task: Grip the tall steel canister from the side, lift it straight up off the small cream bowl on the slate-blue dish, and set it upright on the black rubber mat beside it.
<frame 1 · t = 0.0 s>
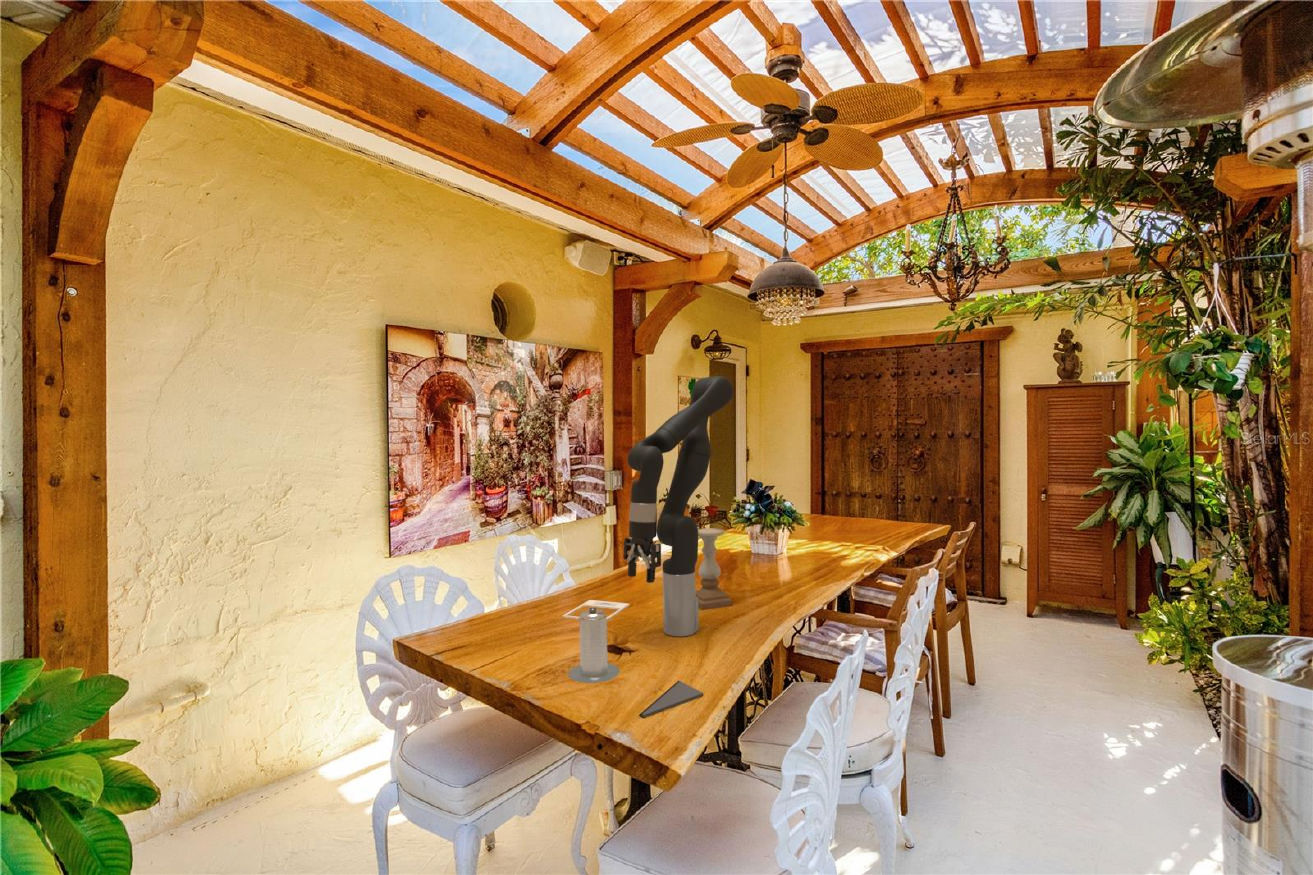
hand: (640, 579, 165), 17 cm above the table, tool pointing down, fingers open, 8 cm apart
candle holder: (710, 603, 200), on the table
rubber mat: (651, 693, 134), on the table
white rectangular frame: (597, 613, 194), on the table
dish: (594, 676, 143), on the table
steel canister: (594, 672, 143), point 1 cm above the table, touching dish
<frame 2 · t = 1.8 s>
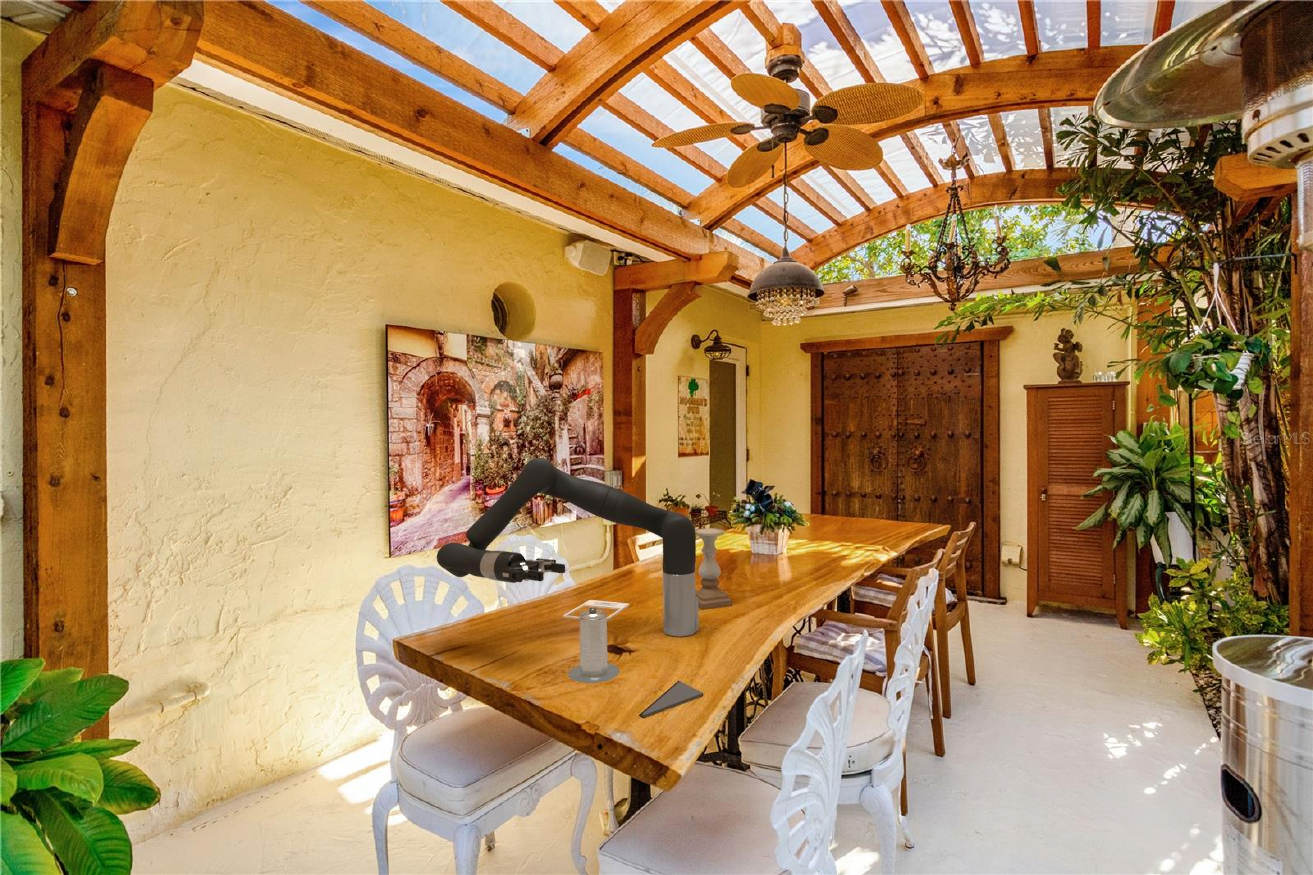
hand: (553, 572, 148), 23 cm above the table, tool horizontal, fingers open, 8 cm apart
nothing on the table moved.
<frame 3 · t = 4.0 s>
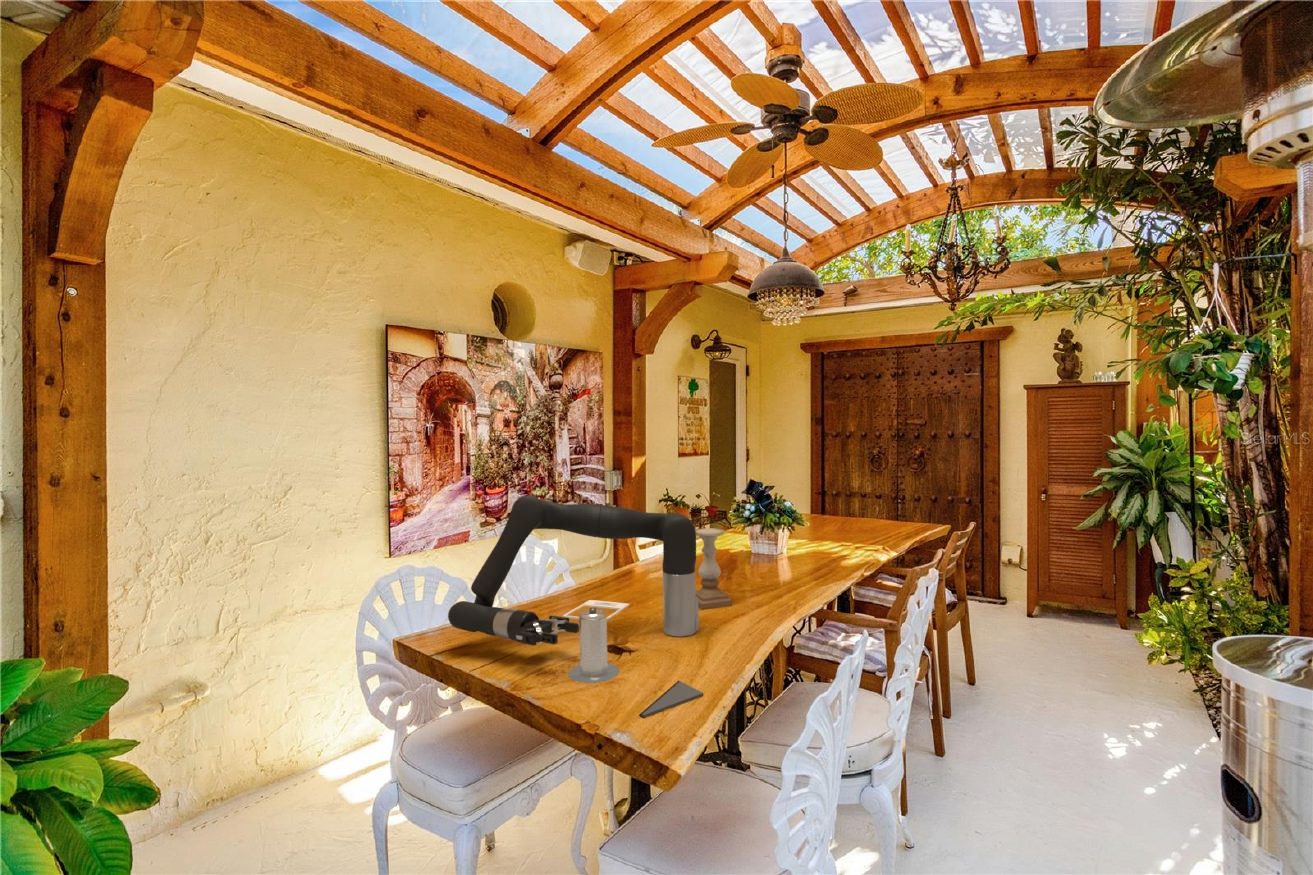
hand: (567, 633, 147), 9 cm above the table, tool horizontal, fingers open, 8 cm apart
nothing on the table moved.
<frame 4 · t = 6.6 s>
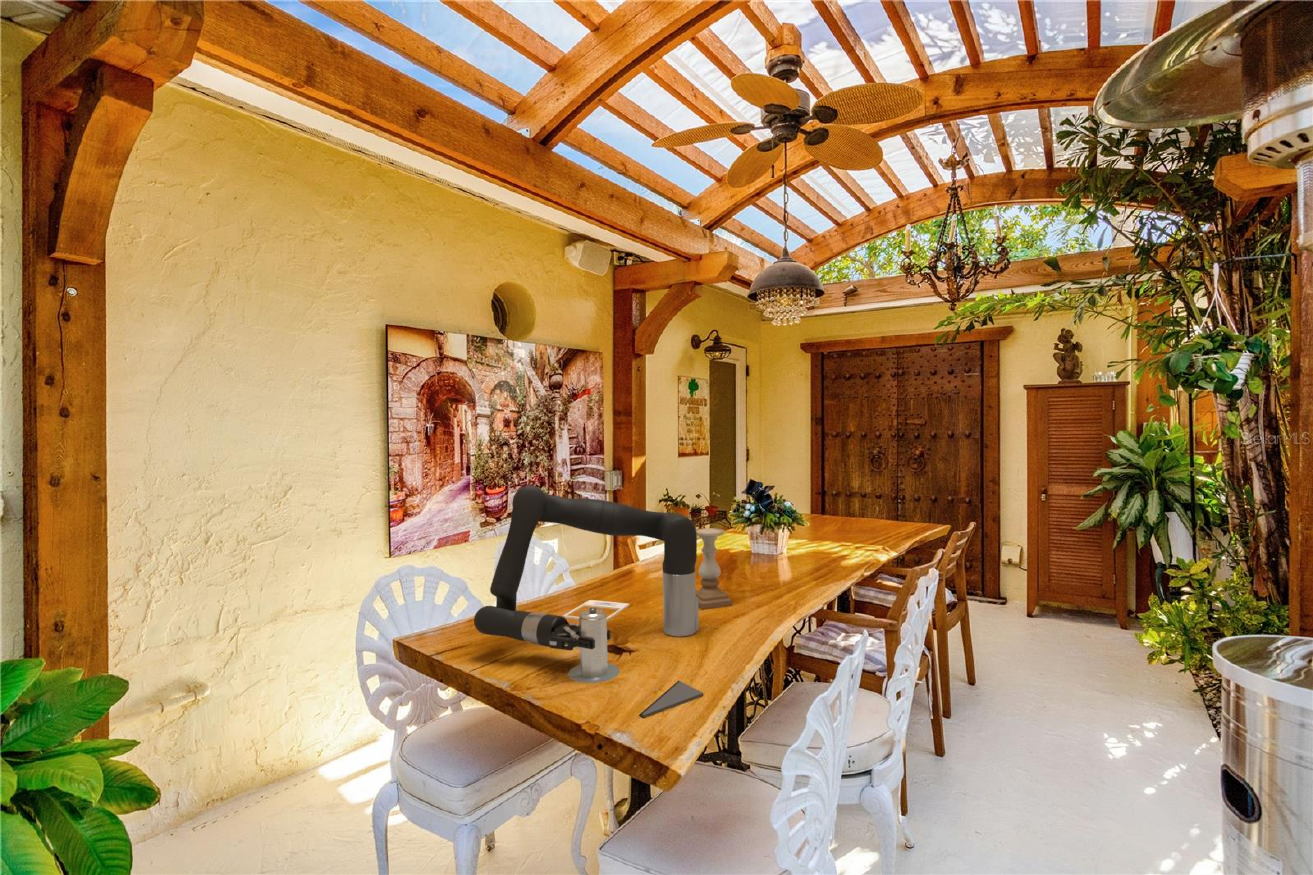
hand: (601, 639, 142), 9 cm above the table, tool horizontal, fingers closed on steel canister, 6 cm apart
steel canister: (594, 672, 143), point 1 cm above the table, touching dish, gripper
everything else where it was.
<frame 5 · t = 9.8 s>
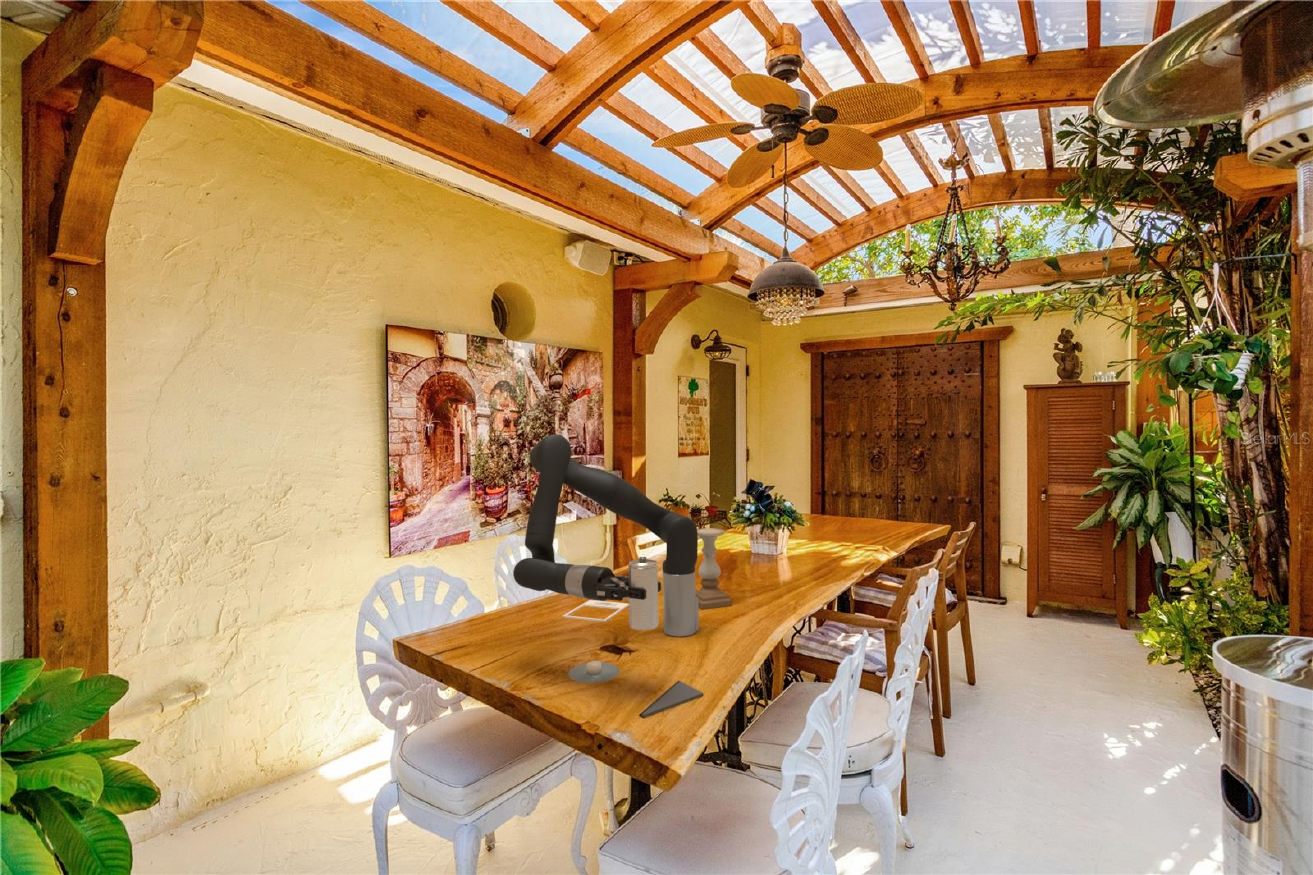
hand: (652, 590, 133), 23 cm above the table, tool horizontal, fingers closed on steel canister, 6 cm apart
steel canister: (643, 625, 134), point 15 cm above the table, touching gripper
everything else where it was.
when the fingers open (10 cm above the table, at t = 13.4 s): steel canister drops 1 cm, resting on rubber mat.
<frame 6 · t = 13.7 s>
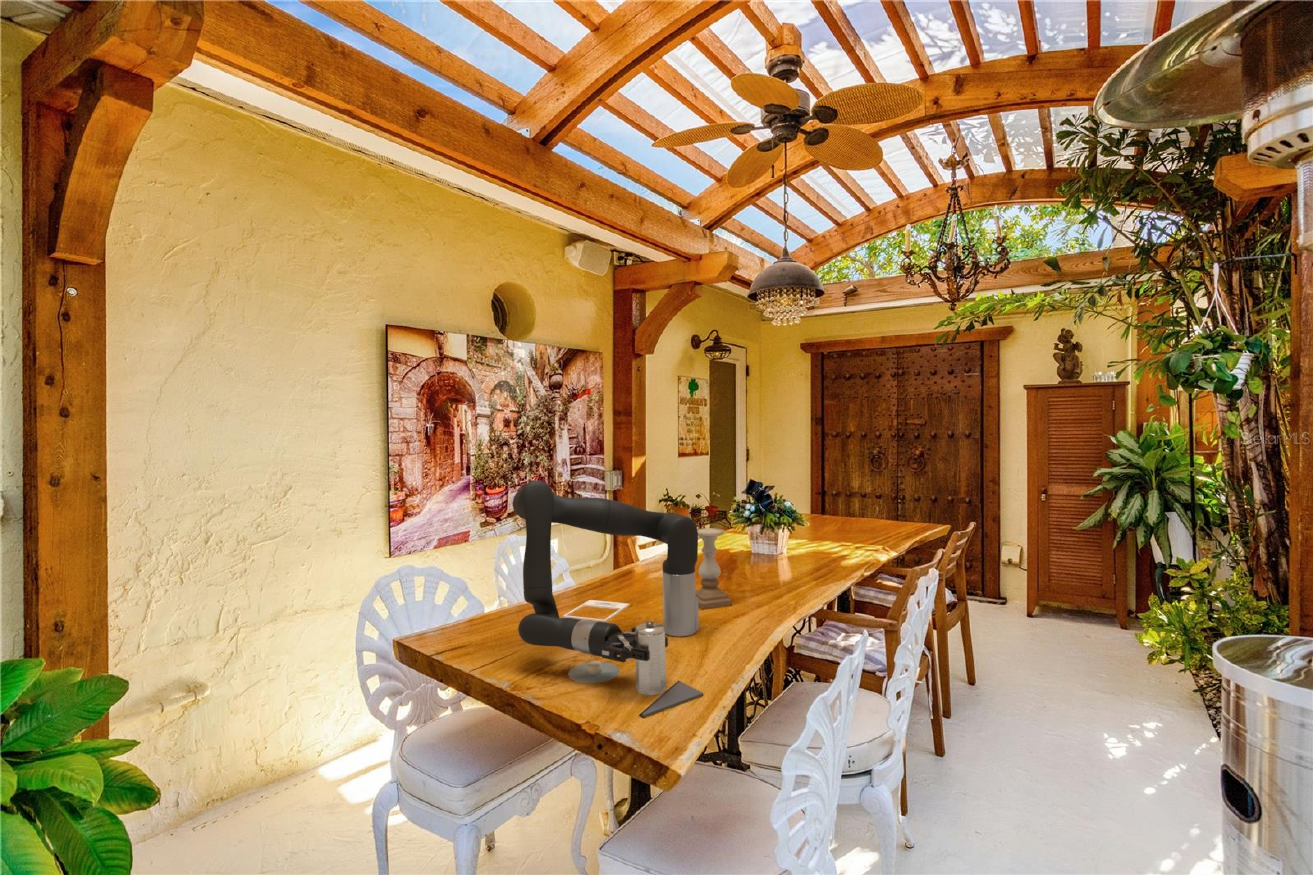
hand: (658, 649, 133), 10 cm above the table, tool horizontal, fingers open, 8 cm apart
steel canister: (651, 690, 134), point 1 cm above the table, touching rubber mat
everything else where it was.
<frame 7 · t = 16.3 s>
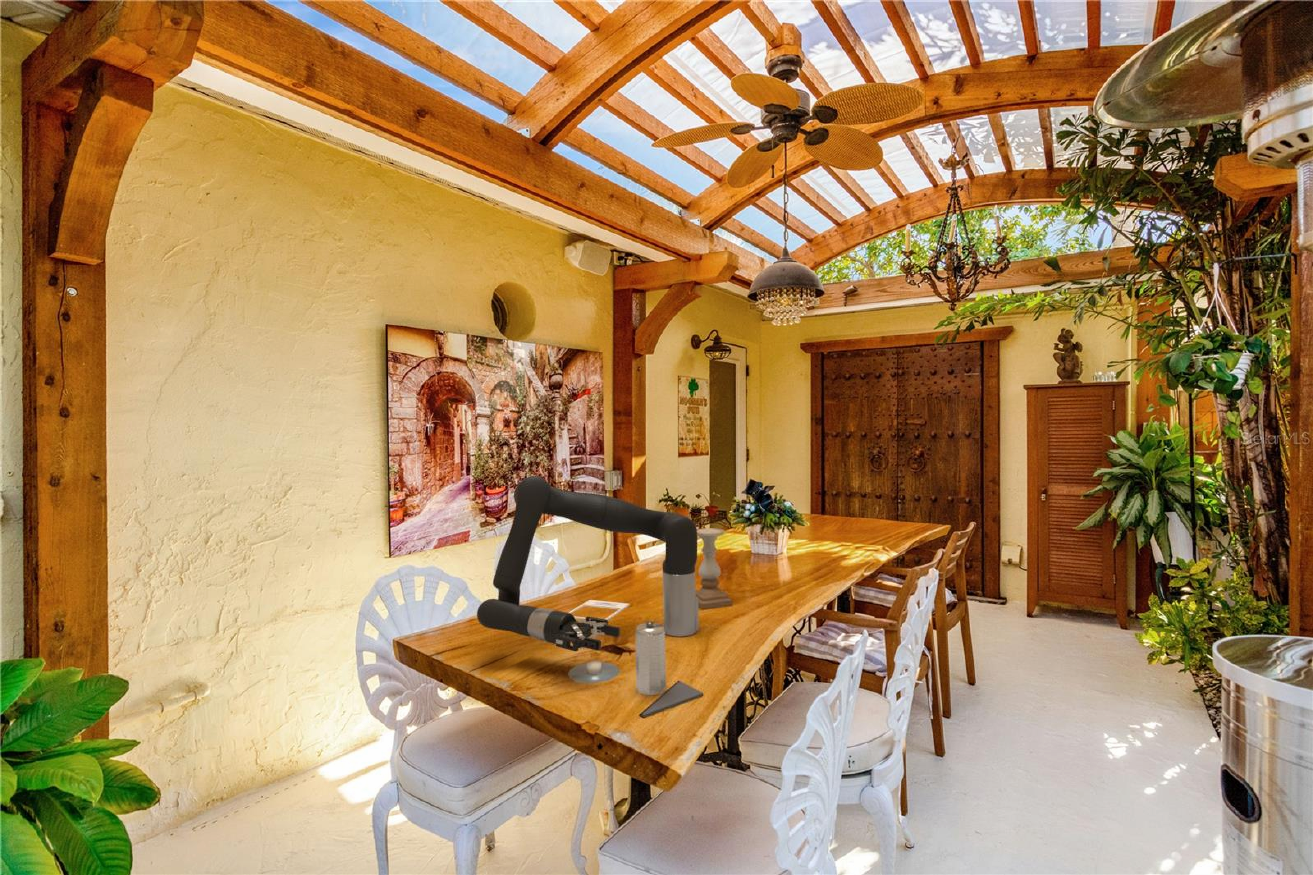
hand: (610, 638, 139), 10 cm above the table, tool horizontal, fingers open, 8 cm apart
nothing on the table moved.
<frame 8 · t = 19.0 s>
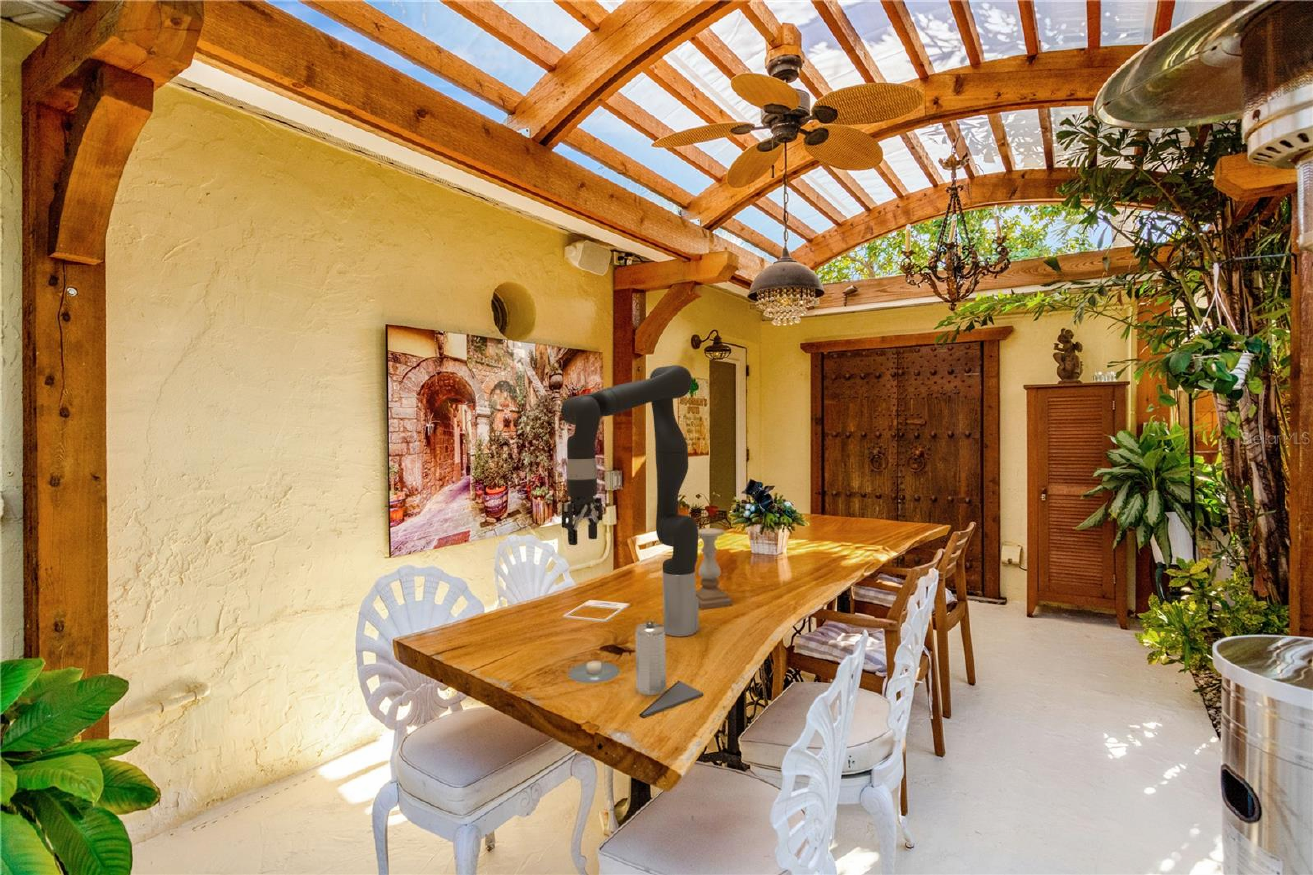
hand: (583, 541, 152), 30 cm above the table, tool pointing down, fingers open, 8 cm apart
nothing on the table moved.
at the end: steel canister inside the target area on the rubber mat (0.1 cm from its centre), point 0.6 cm above the rubber mat's base; steel canister tilted 0°; the gripper is holding nothing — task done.
